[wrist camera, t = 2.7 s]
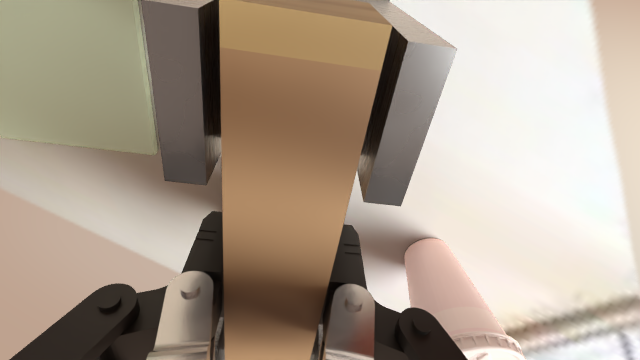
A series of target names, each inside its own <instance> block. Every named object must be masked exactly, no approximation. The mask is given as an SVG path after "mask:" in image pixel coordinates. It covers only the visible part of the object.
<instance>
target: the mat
mask: <svg viewBox="0 0 640 360" xmlns="http://www.w3.org/2000/svg"><path fill="white" fill-rule="evenodd" d="M0 137H1V138H7V139H15V140H24V141H33V142H42V143H50V144H59V145H68V146H76V147H85V148H94V149H103V150H111V151H120V152H129V153H138V154H146V155H155V154H156V153H157V151H158V147H157V139H156V132H155V125H154V117H153V110H152V103H151V95H150V88H149V80H148V73H147V66H146V58H145V51H144V44H143V36H142V29H141V21H140V14H139V7H138V0H0Z"/></svg>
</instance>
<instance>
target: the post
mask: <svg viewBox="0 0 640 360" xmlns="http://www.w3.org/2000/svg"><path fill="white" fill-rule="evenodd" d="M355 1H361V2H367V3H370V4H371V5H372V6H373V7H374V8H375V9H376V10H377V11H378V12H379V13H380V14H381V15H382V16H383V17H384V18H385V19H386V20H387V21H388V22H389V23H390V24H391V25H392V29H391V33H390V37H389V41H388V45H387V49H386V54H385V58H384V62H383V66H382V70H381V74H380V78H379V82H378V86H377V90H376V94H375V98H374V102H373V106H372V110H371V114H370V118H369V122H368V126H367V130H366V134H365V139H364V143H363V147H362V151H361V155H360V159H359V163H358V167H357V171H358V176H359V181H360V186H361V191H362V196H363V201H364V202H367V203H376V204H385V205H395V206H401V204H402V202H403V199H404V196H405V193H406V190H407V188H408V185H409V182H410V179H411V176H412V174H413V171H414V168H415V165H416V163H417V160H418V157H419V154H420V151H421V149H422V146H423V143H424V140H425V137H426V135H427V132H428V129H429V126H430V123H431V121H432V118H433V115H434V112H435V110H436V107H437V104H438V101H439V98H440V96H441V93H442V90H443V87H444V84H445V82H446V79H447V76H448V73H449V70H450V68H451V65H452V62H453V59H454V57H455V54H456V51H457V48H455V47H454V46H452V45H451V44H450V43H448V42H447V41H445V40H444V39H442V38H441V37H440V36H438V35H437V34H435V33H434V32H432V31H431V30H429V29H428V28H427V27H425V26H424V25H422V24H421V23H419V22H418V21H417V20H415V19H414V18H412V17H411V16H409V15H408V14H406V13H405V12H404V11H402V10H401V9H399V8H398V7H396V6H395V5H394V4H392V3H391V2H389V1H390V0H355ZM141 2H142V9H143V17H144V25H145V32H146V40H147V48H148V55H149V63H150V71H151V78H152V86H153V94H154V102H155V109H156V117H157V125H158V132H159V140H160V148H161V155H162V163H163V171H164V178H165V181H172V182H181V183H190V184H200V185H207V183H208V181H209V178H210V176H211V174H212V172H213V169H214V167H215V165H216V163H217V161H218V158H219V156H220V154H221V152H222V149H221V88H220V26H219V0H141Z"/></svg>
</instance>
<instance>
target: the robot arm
mask: <svg viewBox="0 0 640 360" xmlns="http://www.w3.org/2000/svg"><path fill="white" fill-rule="evenodd" d="M220 317H224V273H223V212H215V211H212V212H211V213H210V214H209V215H208V216H207V217H205V218H204V219H203V221H202V224H201V226H200V229H199V232H198V234H197V236H196V240H195V241H194V244H193V246H192V248H191V251H190V253H189V256H188V258H187V261H186V263H185V266H184V268H183V271H182V273H181V274H180V275H178V276H176V277H175V278H174V279H172V280H171V282H170V283H169V285H167V286H165V287H163V288H160V289H156V290H151V291H146V292H140V293H136V291H135V290H134V289H133V288H132V287H131V286H129V285H126V284H111V285H108V286H104V287H102V288H100V289H98V290H96V291H95V292H93V293H92V294H91V295H90V296H88V297H87V298H86V299H84V300H83V301H82V302H81V303H79V304H78V305H77V306H76V307H75V308H73V309H72V310H71V311H70V312H68V313H67V314H66V315H65V316H64V317H62V318H61V319H60V320H58V321H57V322H56V323H55V324H53V325H52V326H51V327H50V328H48V329H47V330H46V331H45V332H43V333H42V334H41V335H40V336H38V337H37V338H36V339H35V340H33V341H32V342H31V343H30V344H28V345H27V346H26V347H25V348H23V349H22V350H21V351H20V352H18V353H17V354H16V355H15V356H13V357H12V358H11V359H10V360H214V354H215V337H216V335H215V334H216V331H217V327H218V323H219V319H220ZM319 324H320V325H323V337H322V341H321V345H320V351H319V358H318V360H468V359H467V358H466V356H465V355H464V354H463V353H462V351H461V350H460V349H459V347H458V346H457V345H456V344H455V342H454V341H453V340H452V338H451V337H450V336H449V335H448V333H447V332H446V331H445V329H444V328H443V327H442V325H441V324H440V323H439V322H438V320H437V319H436V318H435V317H434V316H433V315H432V314H430V313H429V312H427V311H426V310H423V309H420V308H415V307H413V308H407V309H405V310H404V311H403V312H402V313H399V312H396V311H394V310H391V309H388V308H386V307H384V306H382V305H380V304H379V303H377V302H376V301H375V300H374V299H373V297H372V295H371V294H370V293H369V292H368V290H367V287H366V281H365V274H364V268H363V262H362V256H361V249H360V243H359V236H358V234H357V232H356V231H355V229H354V228H353V226H352V225H343V228H342V232H341V236H340V240H339V244H338V248H337V252H336V256H335V260H334V264H333V268H332V272H331V276H330V280H329V284H328V288H327V292H326V296H325V300H324V305H323V309H322V313H321V317H320V321H319Z"/></svg>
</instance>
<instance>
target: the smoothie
mask: <svg viewBox="0 0 640 360" xmlns="http://www.w3.org/2000/svg"><path fill="white" fill-rule="evenodd" d="M404 260H405V267H406V275H407V282H408V290H409V298H410V305H411V308H413V307H415V308H420V309H423V310H426V311H427V312H429V313H430V314H432V315H433V316H434V317H435V318H436V319H437V320H438V322H439V323H440V324H441V325H442V327H443V328H444V329H445V331H446V332H447V333H448V335H449V336H450V337H451V338H452V340H453V341H454V342H455V344H456V345H457V346H458V347H459V349H460V350H461V351H462V353H463V354H464V355H465V356H466V358H467V359H468V360H526V359H525V357H524V355H523V353H522V349H521V347H520V345H519V343H518V342H517V341H515V340H514V339H513V338H511V337H510V336H507V335H506V333H505V332H504V330H503V328H502V327H501V325H500V324H499V322H498V320H497V319H496V317H495V316H494V315H493V313H492V312H491V310H490V309H489V307H488V306H487V304H486V303H485V301H484V299H483V298H482V296H481V295H480V293H479V292H478V290H477V289H476V287H475V286H474V284H473V283H472V281H471V280H470V278H469V277H468V275H467V274H466V272H465V271H464V269H463V267H462V266H461V264H460V263H459V261H458V260H457V258H456V257H455V255H454V254H453V252H452V251H451V249H450V248H449V246H448V245H447V244H446V243H445V242H444V241H442V240H440V239H435V238H428V239H422V240H419V241H417V242H415V243H413V244H412V245H411V246H410V247H409V248H408V249H407V250H406V252H405V255H404Z"/></svg>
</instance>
